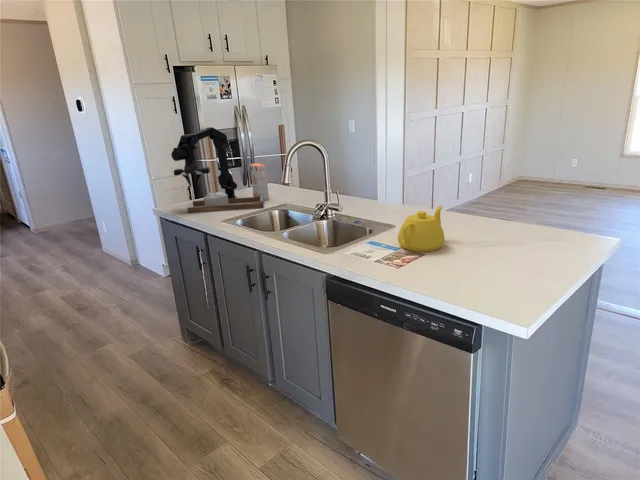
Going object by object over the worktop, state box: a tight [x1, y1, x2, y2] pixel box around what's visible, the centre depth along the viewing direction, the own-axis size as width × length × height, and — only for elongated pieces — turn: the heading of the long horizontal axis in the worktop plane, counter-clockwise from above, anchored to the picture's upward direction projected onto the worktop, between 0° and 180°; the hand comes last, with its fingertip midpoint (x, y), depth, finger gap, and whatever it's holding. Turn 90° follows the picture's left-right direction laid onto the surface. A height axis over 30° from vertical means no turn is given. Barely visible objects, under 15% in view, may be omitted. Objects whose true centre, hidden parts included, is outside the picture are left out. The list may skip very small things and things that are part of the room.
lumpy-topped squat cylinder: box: [203, 191, 230, 206], centre depth 244 cm, size 10×13×9 cm
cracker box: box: [249, 162, 270, 202], centre depth 259 cm, size 14×6×21 cm, turn 25°
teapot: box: [397, 205, 446, 253], centre depth 167 cm, size 25×18×14 cm
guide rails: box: [187, 195, 265, 214], centre depth 245 cm, size 17×41×4 cm, turn 96°
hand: (194, 186), depth 240 cm, fingers open, 3 cm apart
